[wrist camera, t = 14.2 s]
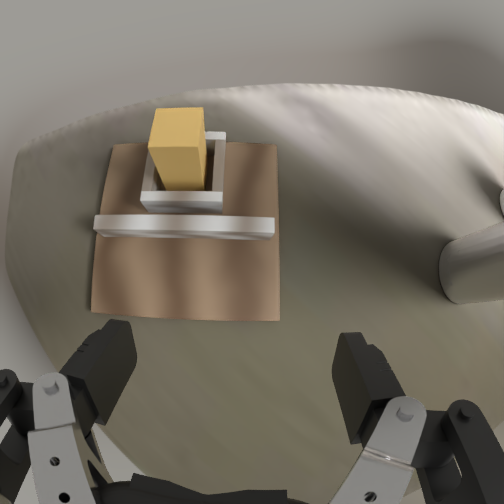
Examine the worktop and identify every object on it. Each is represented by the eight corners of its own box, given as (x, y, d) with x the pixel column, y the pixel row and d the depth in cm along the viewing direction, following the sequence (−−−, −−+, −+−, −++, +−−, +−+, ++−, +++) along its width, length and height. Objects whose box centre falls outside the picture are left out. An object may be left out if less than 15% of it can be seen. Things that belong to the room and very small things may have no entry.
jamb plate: (275, 149, 33) (282, 128, 29) (277, 320, 29) (287, 322, 25) (116, 148, 31) (104, 129, 27) (94, 312, 27) (75, 311, 23)
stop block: (207, 163, 31) (203, 107, 21) (204, 196, 30) (197, 146, 20) (172, 163, 31) (156, 108, 21) (168, 195, 30) (147, 147, 20)
